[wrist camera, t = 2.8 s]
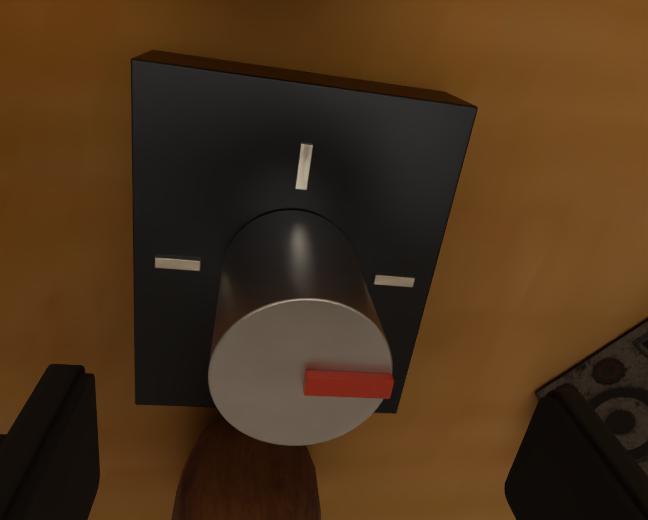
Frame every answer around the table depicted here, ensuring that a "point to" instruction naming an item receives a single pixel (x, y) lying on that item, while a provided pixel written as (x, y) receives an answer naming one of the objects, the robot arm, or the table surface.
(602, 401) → the camera
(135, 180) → the panel
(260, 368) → the dial
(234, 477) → the wooden figurine
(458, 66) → the table surface
